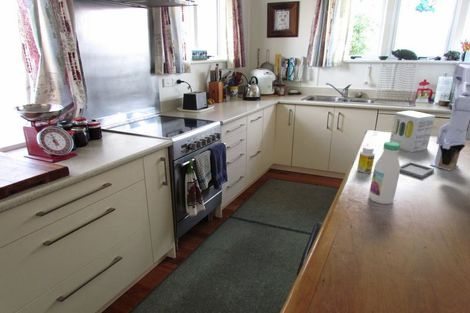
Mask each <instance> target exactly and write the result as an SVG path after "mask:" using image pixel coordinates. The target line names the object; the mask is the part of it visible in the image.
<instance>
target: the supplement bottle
mask: <svg viewBox="0 0 470 313" xmlns="http://www.w3.org/2000/svg"><path fill="white" fill-rule="evenodd" d="M375 157H376V156H375V152H374V147H372V146H369V145H365V146H363V148H362V150H361V151H360V152H359V157H358V163H357V169H356V170H357V171H358V172H359V173H364V174H370V173H371V172H372V170H373V166H374V160H375Z"/></svg>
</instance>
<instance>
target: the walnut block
mask: <svg viewBox="0 0 470 313" xmlns="http://www.w3.org/2000/svg"><path fill="white" fill-rule="evenodd" d="M460 154H461V151H460V152H456V153H455V154H454V156H453V158H452V160H451V162H450V164H449V165H444V164H442V154H441V158H440V161H439V165H438V166H440V167H443V168H447V169H450V170H451V171H452V169H453V168H454V169H456V168H457V167H456V164H457V165H458V161H459V158H460V157H459V156H460ZM455 167H456V168H455ZM443 168H442V169H443ZM454 169H453V170H454ZM450 170H449V171H450Z"/></svg>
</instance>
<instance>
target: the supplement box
mask: <svg viewBox="0 0 470 313" xmlns="http://www.w3.org/2000/svg"><path fill="white" fill-rule="evenodd" d="M435 118H436V115H435V114H429V113H426V112H425V113H424V112H420V111H415V110H403V111H397V112H394V118H393V122H392V127H391V128H392V129H391V133H390V138H389V142H394V143H398V144H399V145H400V148H399V150H402V151H403V150H404V151H406V152H410V153H414V152H419V151H423V150H428V147H429V143H430V138H431V136H432V130H433V125H434V122H435Z"/></svg>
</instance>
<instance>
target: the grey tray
mask: <svg viewBox="0 0 470 313" xmlns="http://www.w3.org/2000/svg"><path fill="white" fill-rule="evenodd" d="M434 171H435V168H433V167H430V166H426V165H424V164H423V165H422V164H419V163H416V162H412V161H407V162H405V163H404V164H400V174H401V173H402V174H404V175H407V176H410V177H414V178H417V179H421V180H423V179H424V178H426V177H427V176H429V175H431V174H432V173H434Z"/></svg>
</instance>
